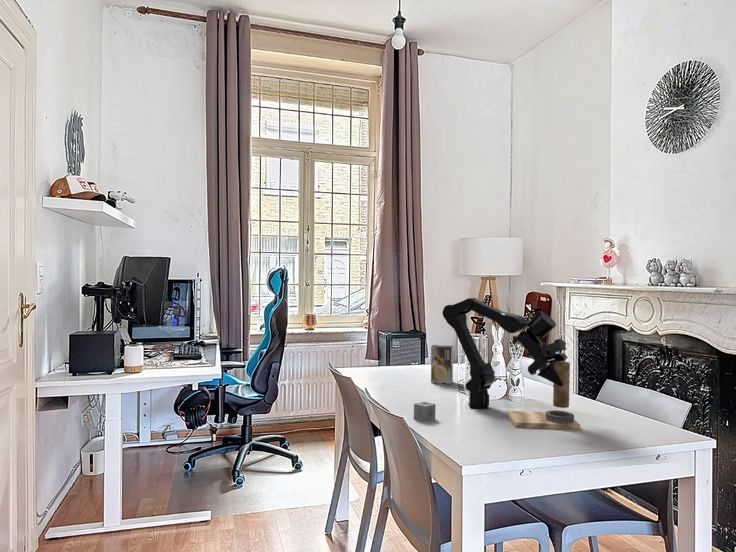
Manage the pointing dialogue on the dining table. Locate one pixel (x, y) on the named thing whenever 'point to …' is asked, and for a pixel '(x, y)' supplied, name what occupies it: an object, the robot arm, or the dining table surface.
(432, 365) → the coffee box
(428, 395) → the dining table surface
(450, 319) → the robot arm
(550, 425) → the oak socket board
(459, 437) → the dining table surface
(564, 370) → the walnut post
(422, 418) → the dice cube
